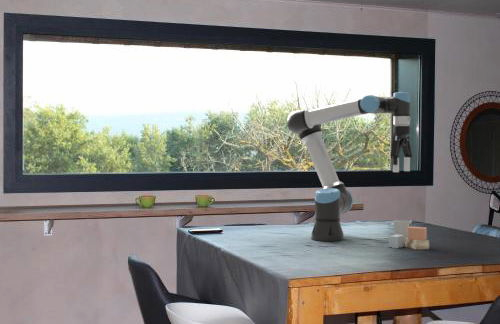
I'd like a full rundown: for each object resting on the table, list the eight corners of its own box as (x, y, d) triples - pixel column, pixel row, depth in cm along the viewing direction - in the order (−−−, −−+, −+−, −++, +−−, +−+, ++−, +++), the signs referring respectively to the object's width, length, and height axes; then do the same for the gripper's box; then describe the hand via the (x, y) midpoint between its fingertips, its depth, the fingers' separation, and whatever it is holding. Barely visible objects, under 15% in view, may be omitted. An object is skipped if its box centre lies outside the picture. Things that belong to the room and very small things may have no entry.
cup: (411, 244, 298) (411, 222, 298) (393, 244, 300) (393, 221, 299) (411, 242, 306) (411, 220, 306) (392, 241, 307) (393, 219, 307)
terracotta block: (407, 239, 289) (408, 227, 289) (410, 238, 293) (410, 226, 293) (424, 240, 286) (424, 228, 286) (426, 239, 290) (426, 227, 289)
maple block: (405, 246, 294) (405, 237, 294) (417, 246, 295) (417, 237, 295) (416, 250, 284) (416, 240, 284) (429, 249, 286) (429, 240, 286)
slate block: (397, 248, 288) (397, 236, 287) (388, 247, 290) (388, 236, 290) (403, 246, 293) (403, 235, 293) (395, 245, 296) (395, 234, 295)
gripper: (399, 124, 299) (399, 172, 299) (418, 126, 319) (418, 170, 320) (383, 125, 303) (383, 172, 303) (403, 126, 323) (403, 170, 324)
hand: (401, 171), depth 312 cm, fingers open, 13 cm apart
